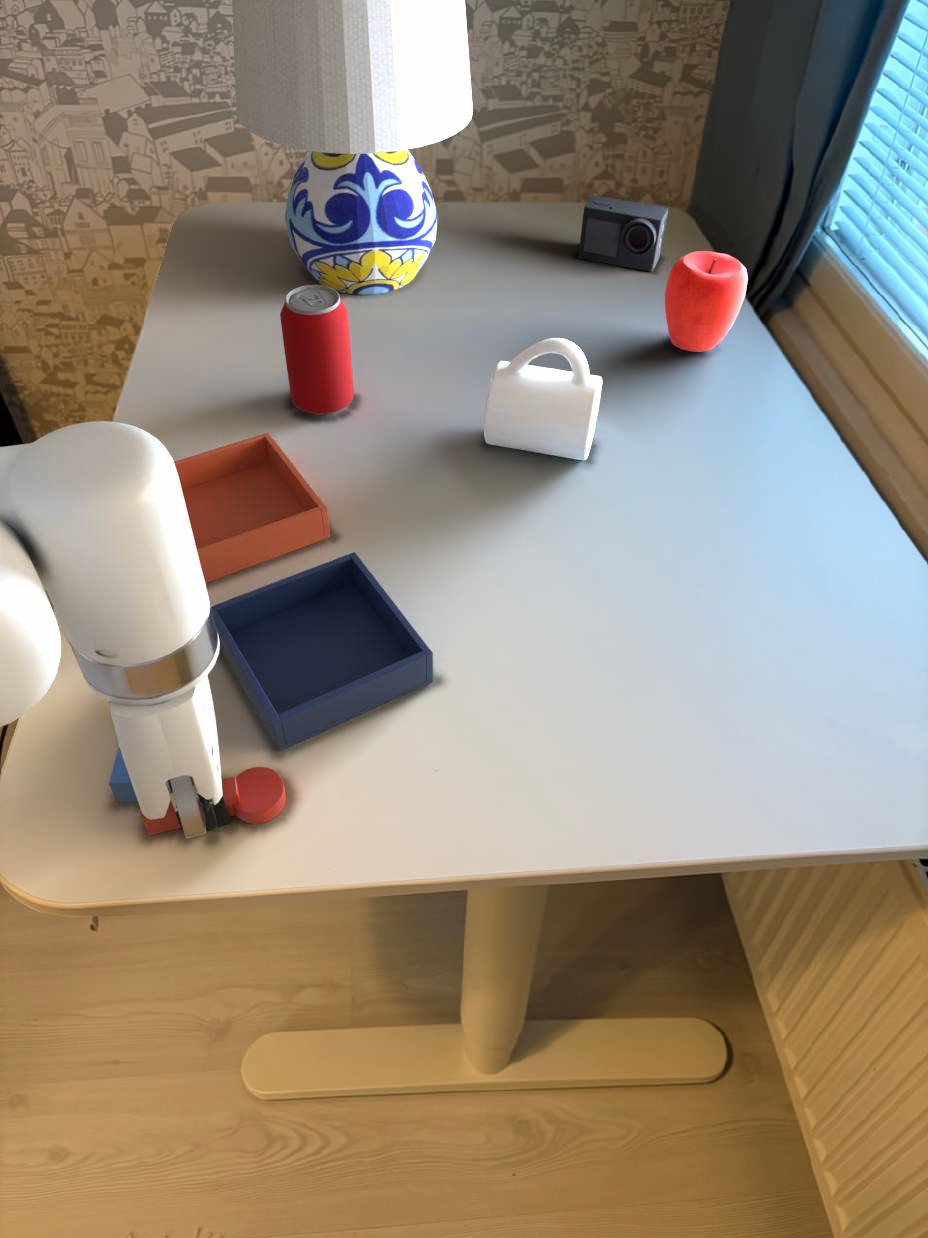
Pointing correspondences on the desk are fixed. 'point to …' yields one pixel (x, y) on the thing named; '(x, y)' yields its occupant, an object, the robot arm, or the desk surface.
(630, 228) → the digital camera
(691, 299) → the apple
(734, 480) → the desk surface
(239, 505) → the red bin
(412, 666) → the blue bin
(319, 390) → the beverage can
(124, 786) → the blue spoon
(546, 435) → the white handbag
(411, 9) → the table lamp
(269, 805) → the red spoon
